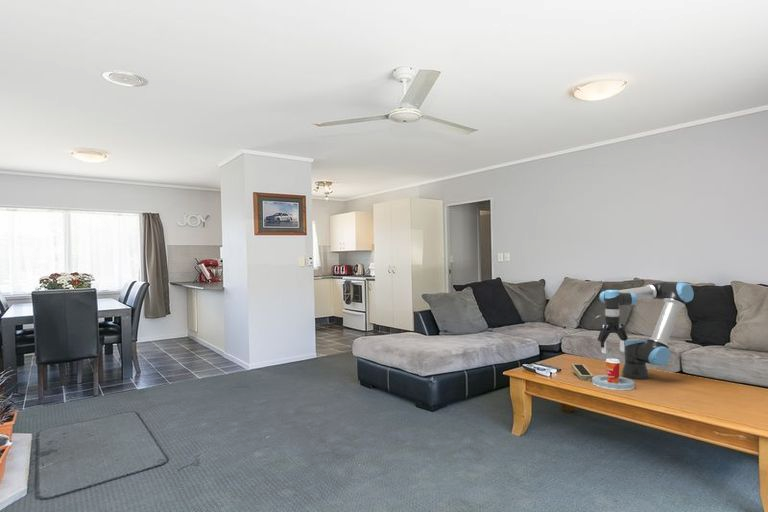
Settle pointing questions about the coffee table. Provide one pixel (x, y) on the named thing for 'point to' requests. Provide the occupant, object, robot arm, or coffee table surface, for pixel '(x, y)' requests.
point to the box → (582, 372)
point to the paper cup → (612, 370)
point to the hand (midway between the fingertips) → (613, 352)
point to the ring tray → (621, 385)
